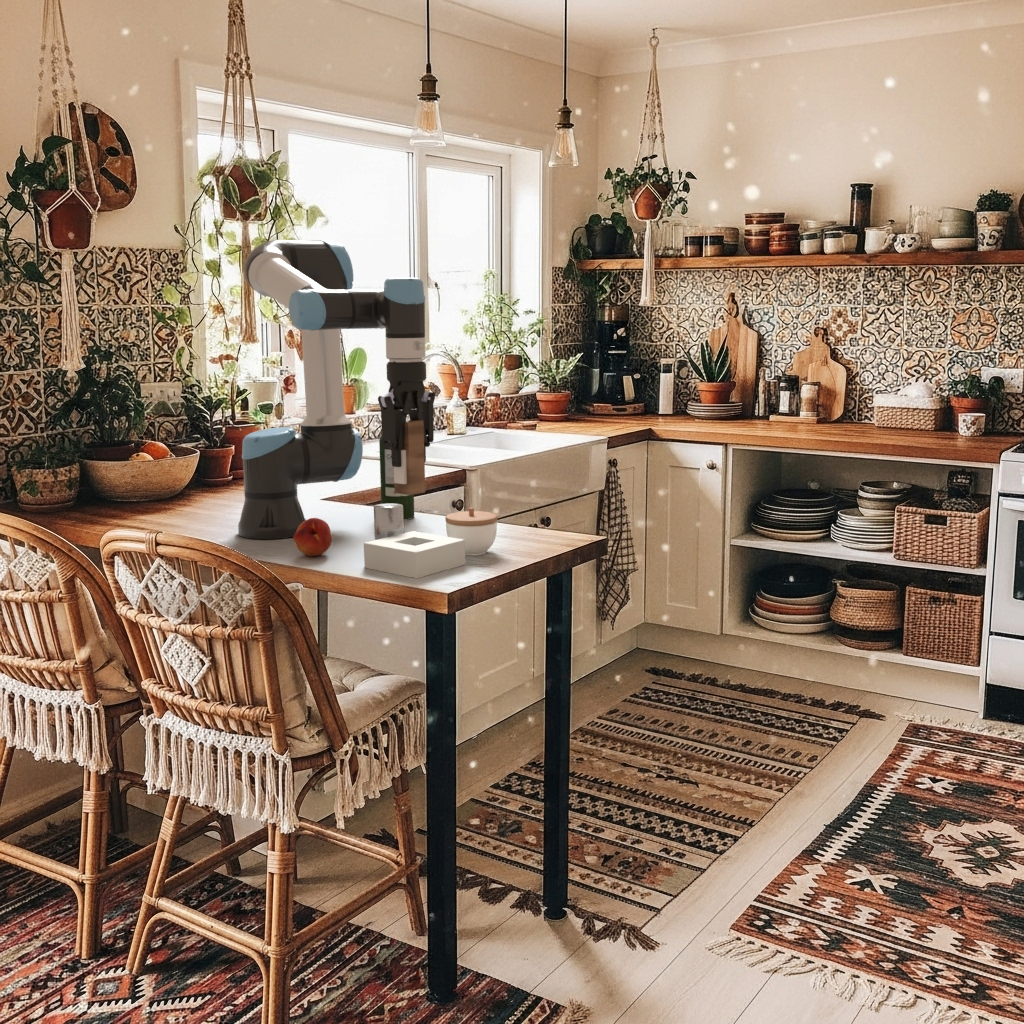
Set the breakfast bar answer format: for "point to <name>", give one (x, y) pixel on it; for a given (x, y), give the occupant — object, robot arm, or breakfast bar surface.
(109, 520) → the breakfast bar surface
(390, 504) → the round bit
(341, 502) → the breakfast bar surface
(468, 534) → the lidded jar
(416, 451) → the square bit
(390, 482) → the wine bottle
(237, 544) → the breakfast bar surface
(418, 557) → the socket block
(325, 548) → the fruit
